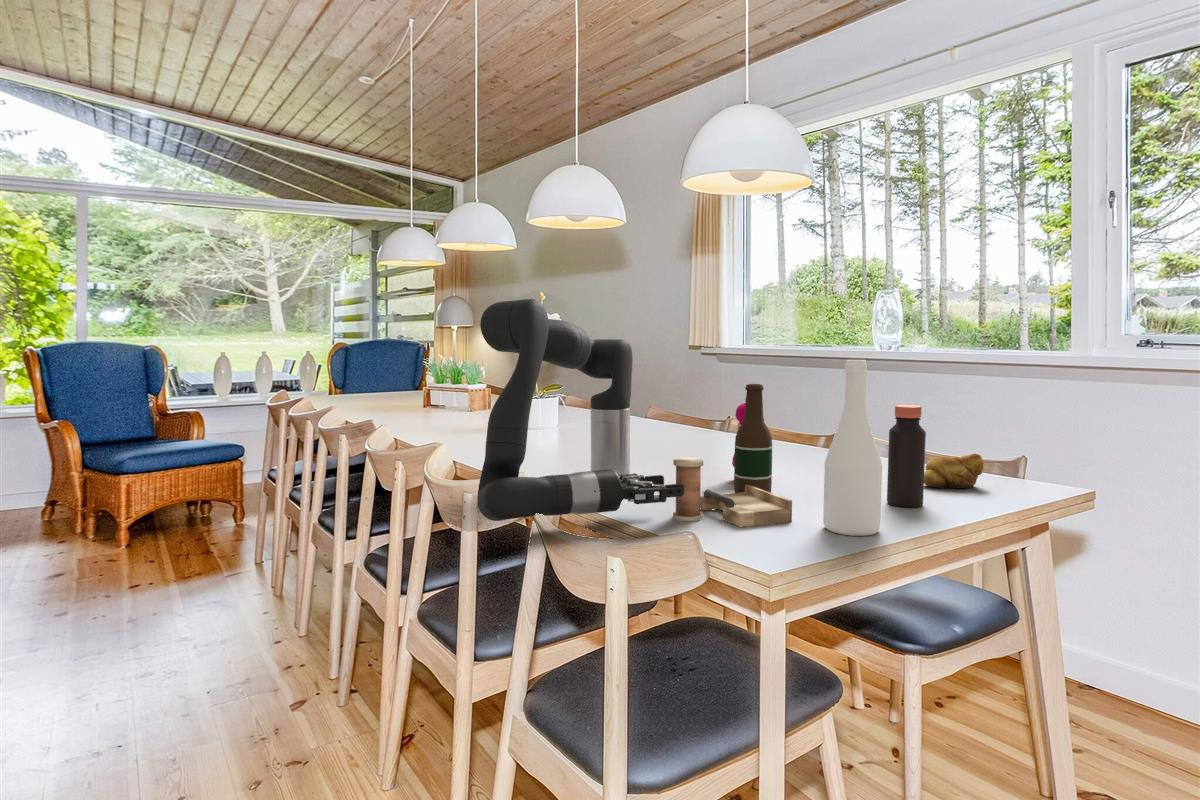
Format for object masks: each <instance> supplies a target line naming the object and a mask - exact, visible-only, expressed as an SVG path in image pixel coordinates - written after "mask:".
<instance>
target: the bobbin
mask: <svg viewBox="0 0 1200 800" xmlns="http://www.w3.org/2000/svg"><path fill="white" fill-rule="evenodd" d="M672 461H673V463H672V465H673V466H675V484H682V485H684V495H683V496H680V497H675V511H673V513H672V518H673V519H674V520H675V519H676V521H678V520H680V522H686V521H693V522H697V521H696V520H700V519H702V518H703V519H704V514H703V512H701V509H700V496H701V488H702V487H701V483H702V481H701V479H702V478H701V476H702V475H701V473H702V472H701V470H702V469H701V468H702V466H704V459H702V458H696V457H678V458H673V460H672ZM703 519H702V520H703ZM700 521H701V520H700Z"/></svg>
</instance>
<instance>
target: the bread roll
mask: <svg viewBox="0 0 1200 800" xmlns="http://www.w3.org/2000/svg"><path fill="white" fill-rule="evenodd" d="M925 464H926V465H925V470H924V486H928V487H932V488H937V489H945V488H947V487H949V488H951V489H960V488H964V489H970V488H972V487H974V486H975V485H976V483H977V480H978V477H979V476H981V475H982V474H983V471H984V461H983V458H982V455H980V454H978V453H972V454H966V455H962V456H960V457H958V456H956V455H954V456H935V457H931V458H930V459H929V460H928V462H926V463H925Z"/></svg>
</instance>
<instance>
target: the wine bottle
mask: <svg viewBox="0 0 1200 800" xmlns="http://www.w3.org/2000/svg"><path fill="white" fill-rule="evenodd" d="M844 373H845V387H844V389H845V390H844V391H845V392H844V406H843V410H842V414H841V416H840V419H839V422H838V424H837V425H838V426H837V428H836V431H835V433H834V435H833V439H832V440H831V444H830V446H829V448H828V451H827V453H826V454H827V455H826V457H825V460H824V472H823V473H824V474H823V475H824V476H823V477H824V479H823V481H824V482H823V484H824V485H823V512H822V513H823V518H822V519H823V526H824V527H825V528H826V530H828V531H830V532H832V533H834V534H835V533H836V534H838V535H844V536H852V537H854V536H855V537H864V536H865V537H866V536H872V535H875V534H876V533H878V531H880V528H881V518H882V517H881V515H882V514H881V512H882V485H883V483H882V482H883V481H882V480H883V463H882V459H881V455H880V451H879V448H878V446H877V443H876V439H875V436H874V434H873V431H872V430H873V429H872V427H871V423H870V420H869V418H868V413H867V409H866V374H867V373H868V364H867V361H866V359H846V363H844Z"/></svg>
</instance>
